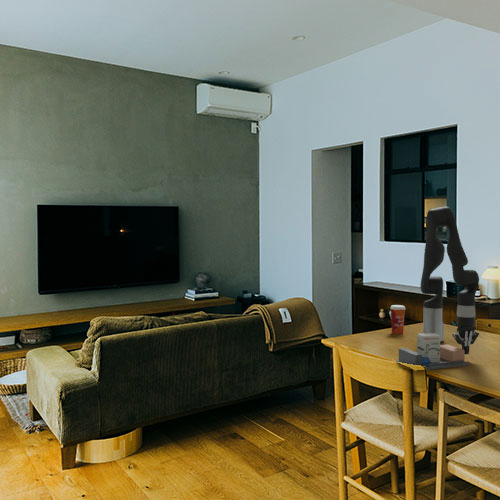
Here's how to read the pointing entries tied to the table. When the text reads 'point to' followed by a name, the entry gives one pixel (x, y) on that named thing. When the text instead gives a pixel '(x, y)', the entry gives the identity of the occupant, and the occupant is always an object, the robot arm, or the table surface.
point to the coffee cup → (397, 318)
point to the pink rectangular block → (451, 353)
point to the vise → (416, 359)
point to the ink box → (429, 347)
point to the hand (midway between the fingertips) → (465, 354)
